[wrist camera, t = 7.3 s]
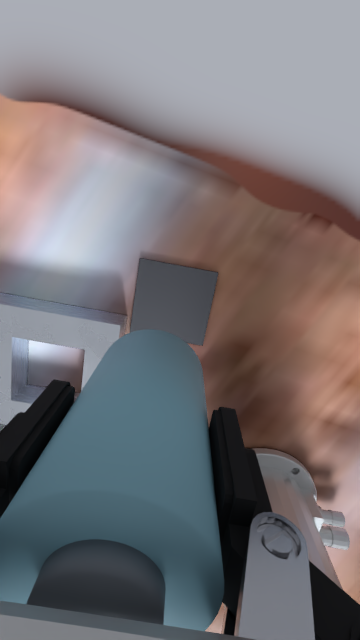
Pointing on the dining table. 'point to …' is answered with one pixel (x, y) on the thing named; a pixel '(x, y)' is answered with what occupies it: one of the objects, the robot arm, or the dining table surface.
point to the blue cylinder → (123, 496)
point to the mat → (173, 299)
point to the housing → (49, 327)
